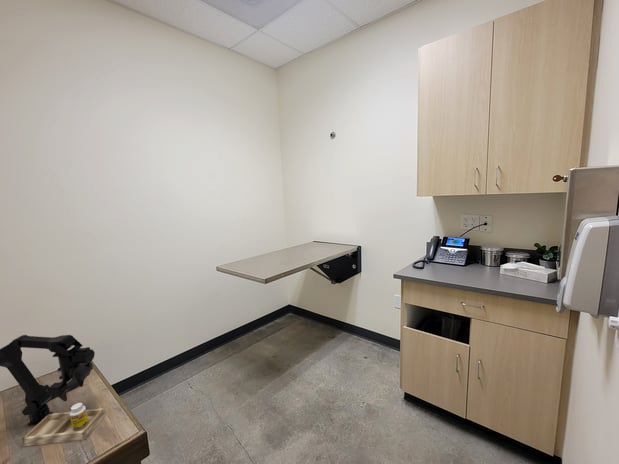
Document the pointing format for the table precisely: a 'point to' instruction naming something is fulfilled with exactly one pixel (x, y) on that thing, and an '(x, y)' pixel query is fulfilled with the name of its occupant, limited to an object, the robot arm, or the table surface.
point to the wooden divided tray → (61, 428)
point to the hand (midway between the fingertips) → (73, 393)
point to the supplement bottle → (78, 416)
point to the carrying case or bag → (69, 386)
